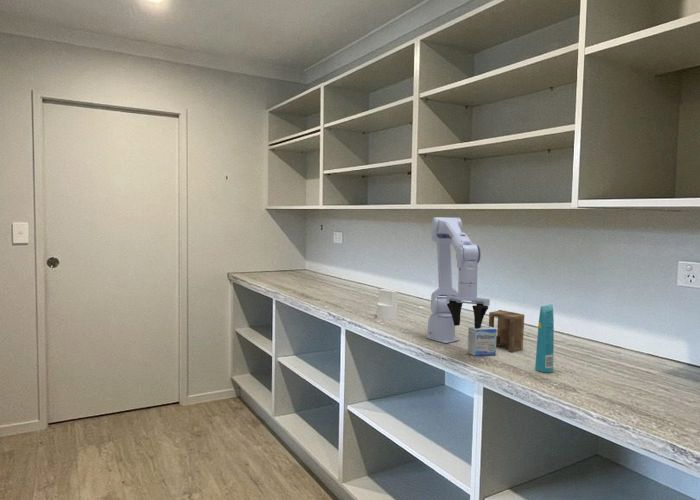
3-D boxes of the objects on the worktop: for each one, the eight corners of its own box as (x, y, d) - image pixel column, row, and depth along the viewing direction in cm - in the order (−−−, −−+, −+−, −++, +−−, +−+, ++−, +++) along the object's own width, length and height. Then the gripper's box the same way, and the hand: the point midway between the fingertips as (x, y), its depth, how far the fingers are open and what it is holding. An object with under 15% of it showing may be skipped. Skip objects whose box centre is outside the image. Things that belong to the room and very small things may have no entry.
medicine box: (474, 356, 155) (475, 329, 155) (467, 352, 160) (468, 326, 159) (496, 355, 158) (497, 328, 157) (488, 351, 162) (489, 325, 161)
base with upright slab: (401, 318, 212) (402, 290, 211) (386, 320, 206) (387, 292, 206) (387, 314, 219) (388, 288, 218) (372, 317, 213) (373, 289, 212)
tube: (540, 365, 147) (543, 302, 146) (556, 369, 144) (560, 304, 143) (530, 371, 141) (534, 305, 140) (547, 375, 138) (551, 308, 137)
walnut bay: (487, 346, 168) (489, 311, 168) (498, 343, 172) (500, 309, 172) (511, 352, 161) (513, 316, 160) (522, 349, 165) (524, 314, 164)
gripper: (440, 282, 155) (440, 325, 155) (480, 285, 144) (480, 331, 144) (454, 281, 160) (453, 323, 160) (493, 284, 149) (493, 328, 149)
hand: (467, 326), depth 152 cm, fingers open, 7 cm apart
